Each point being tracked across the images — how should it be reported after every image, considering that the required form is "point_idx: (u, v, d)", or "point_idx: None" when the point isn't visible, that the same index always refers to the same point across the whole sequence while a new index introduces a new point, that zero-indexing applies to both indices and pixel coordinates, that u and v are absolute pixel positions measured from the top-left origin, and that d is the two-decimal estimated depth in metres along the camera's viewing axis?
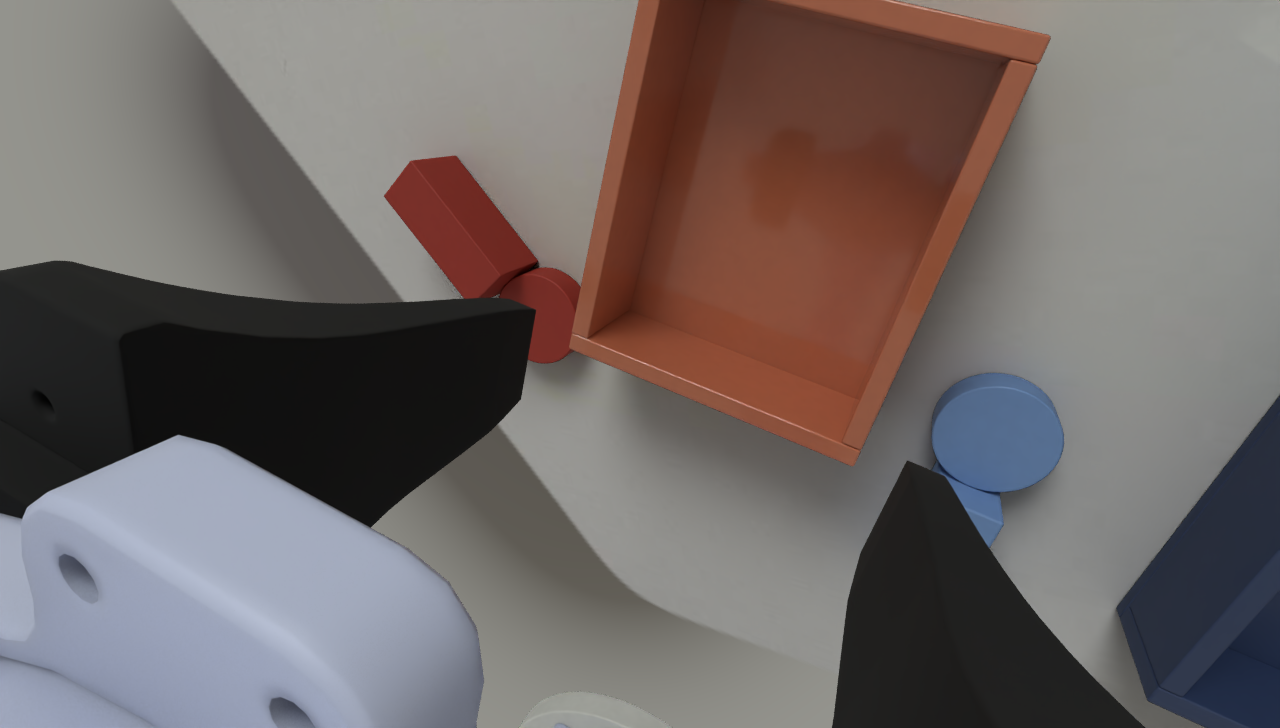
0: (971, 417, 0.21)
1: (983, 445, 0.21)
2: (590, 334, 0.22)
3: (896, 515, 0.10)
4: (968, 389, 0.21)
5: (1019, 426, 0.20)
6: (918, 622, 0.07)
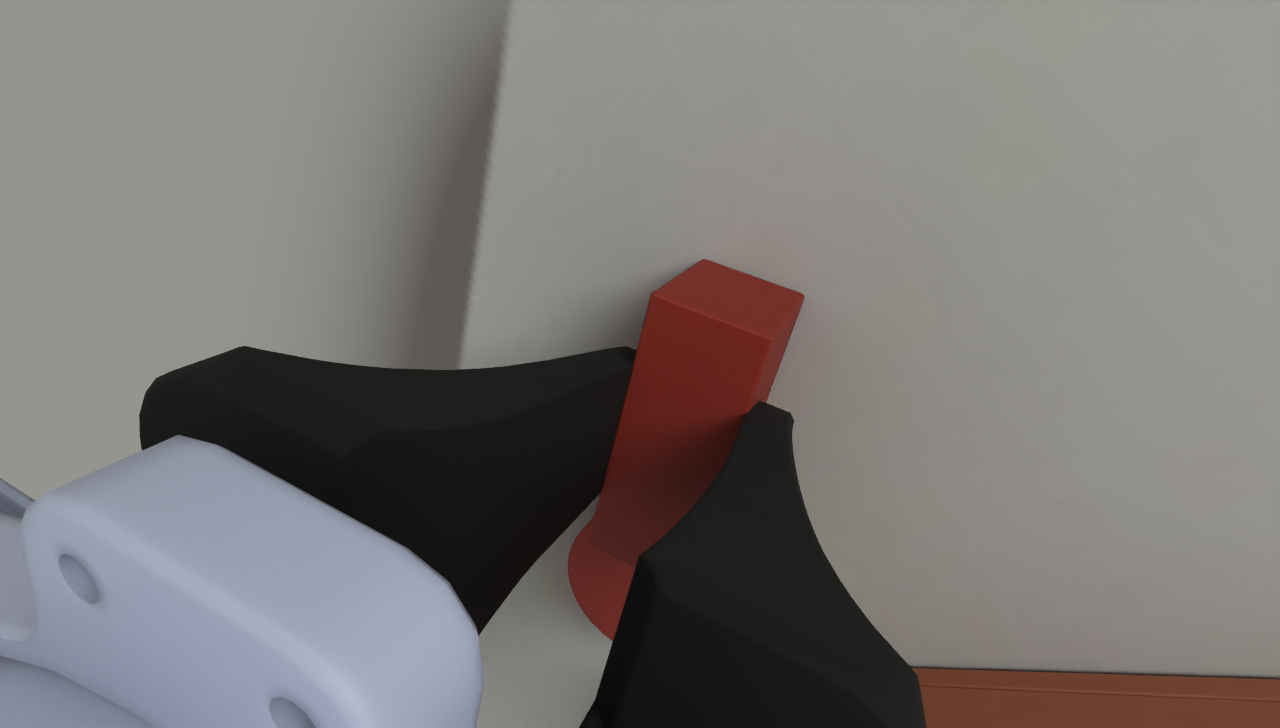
0: None
1: None
2: None
3: None
4: None
5: None
6: None
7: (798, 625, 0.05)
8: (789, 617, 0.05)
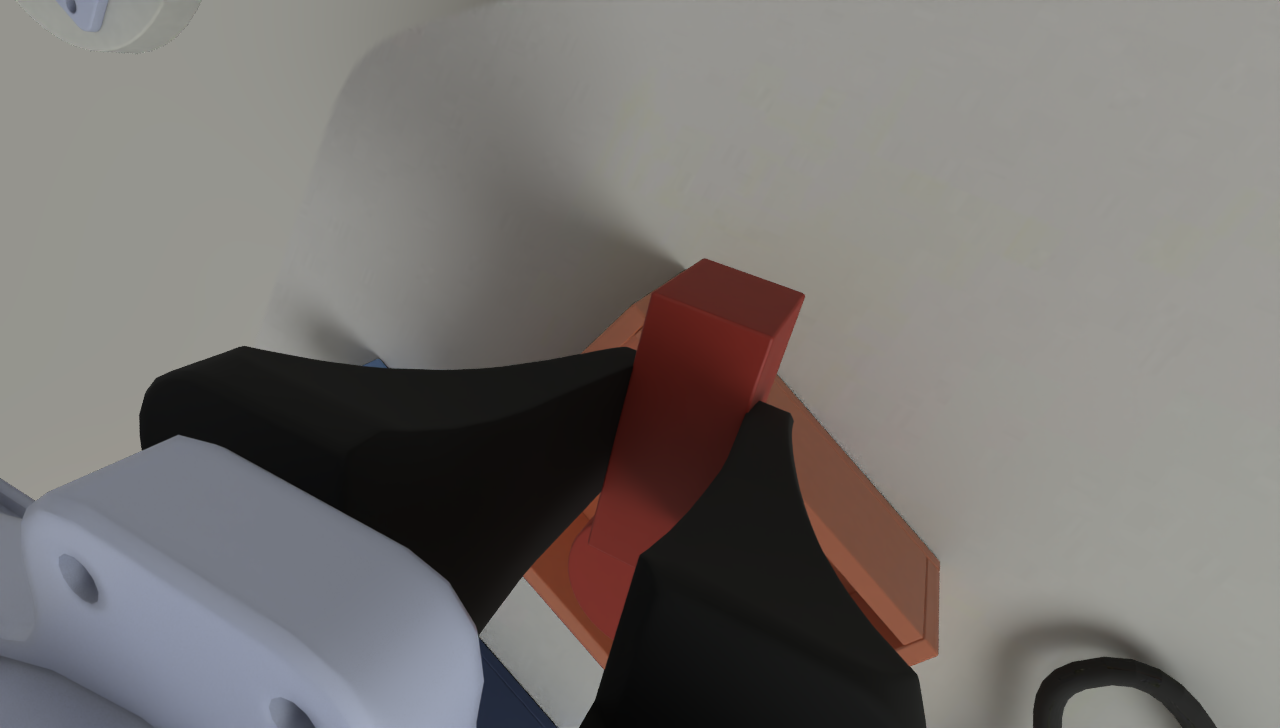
0: None
1: None
2: None
3: None
4: None
5: None
6: None
7: (798, 624, 0.05)
8: (790, 617, 0.05)
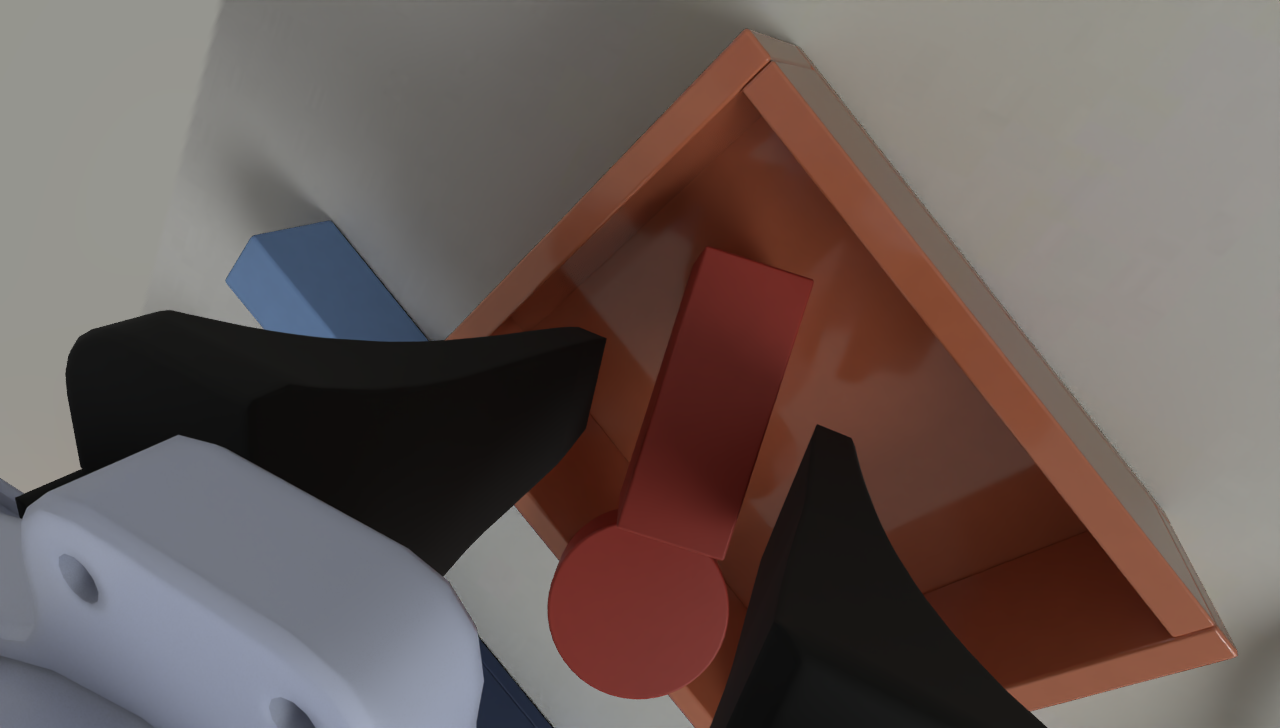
0: None
1: None
2: None
3: (798, 473, 0.10)
4: None
5: None
6: (783, 559, 0.07)
7: (944, 696, 0.05)
8: (933, 687, 0.05)
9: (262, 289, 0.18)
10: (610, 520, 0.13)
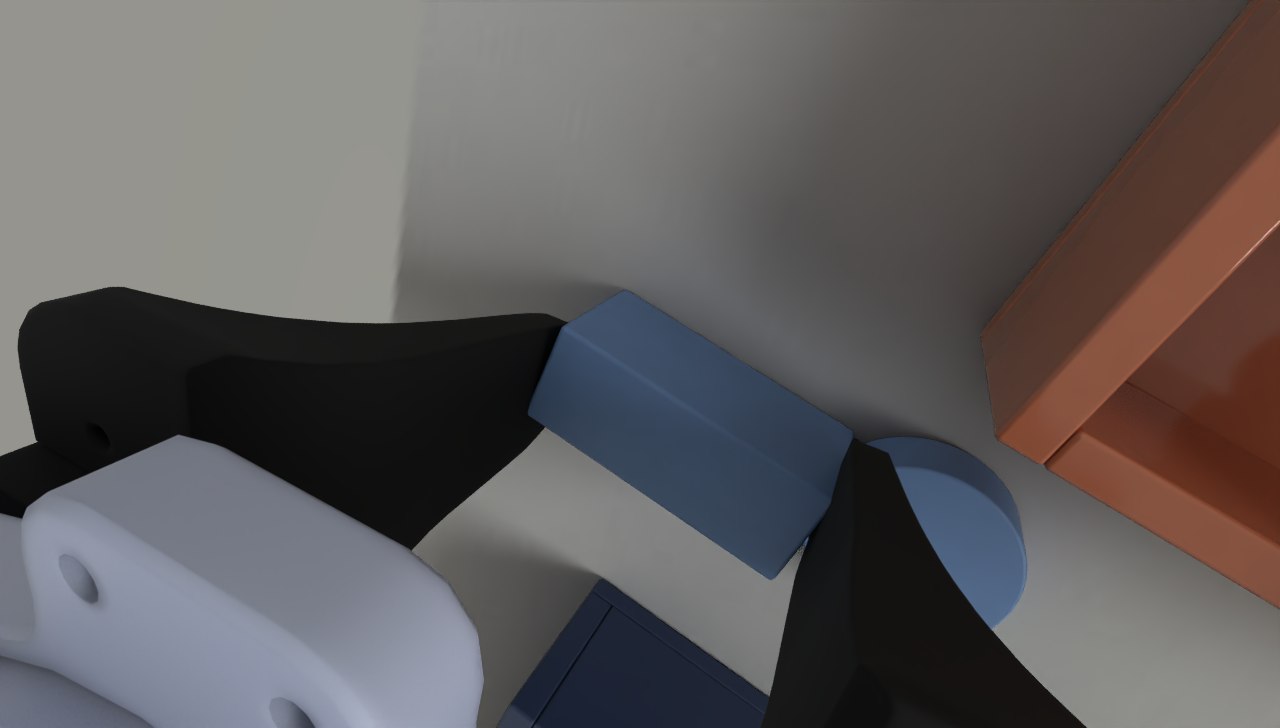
0: (966, 540, 0.11)
1: None
2: None
3: (837, 489, 0.10)
4: None
5: None
6: (836, 584, 0.07)
7: None
8: None
9: (591, 403, 0.11)
10: None
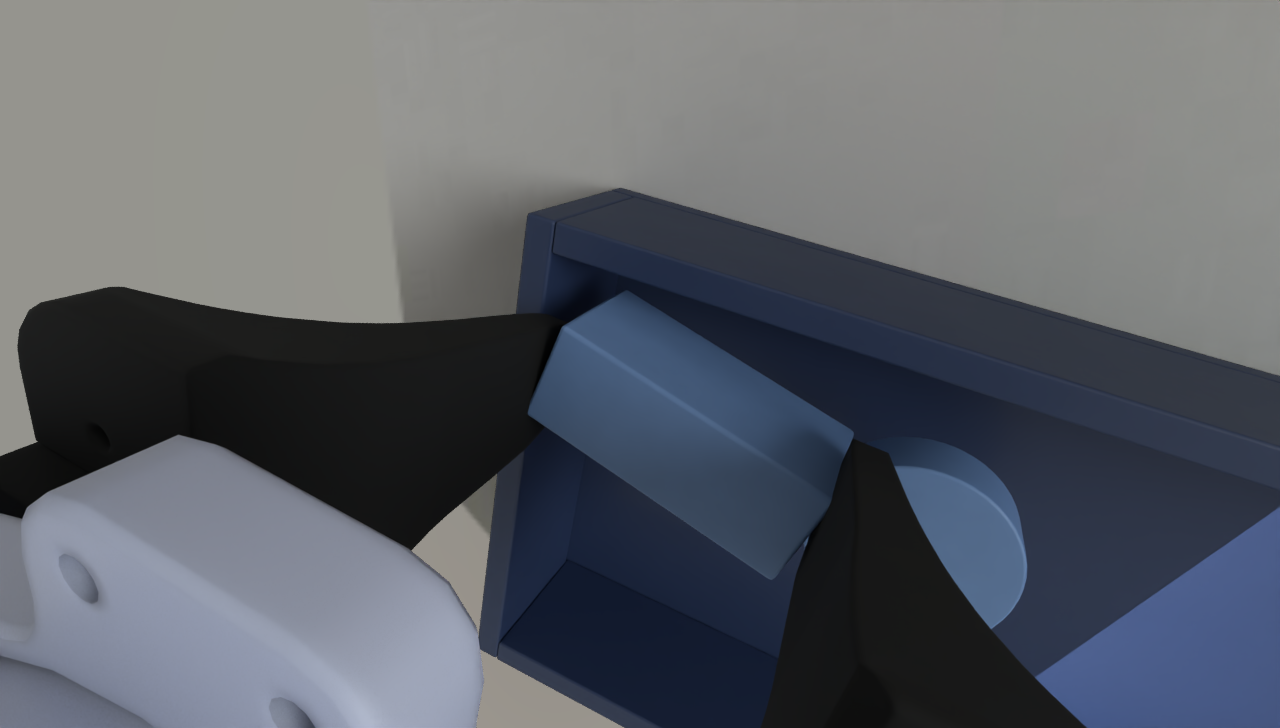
0: (966, 540, 0.11)
1: None
2: None
3: (837, 490, 0.10)
4: None
5: None
6: (836, 584, 0.07)
7: None
8: None
9: (591, 403, 0.11)
10: None
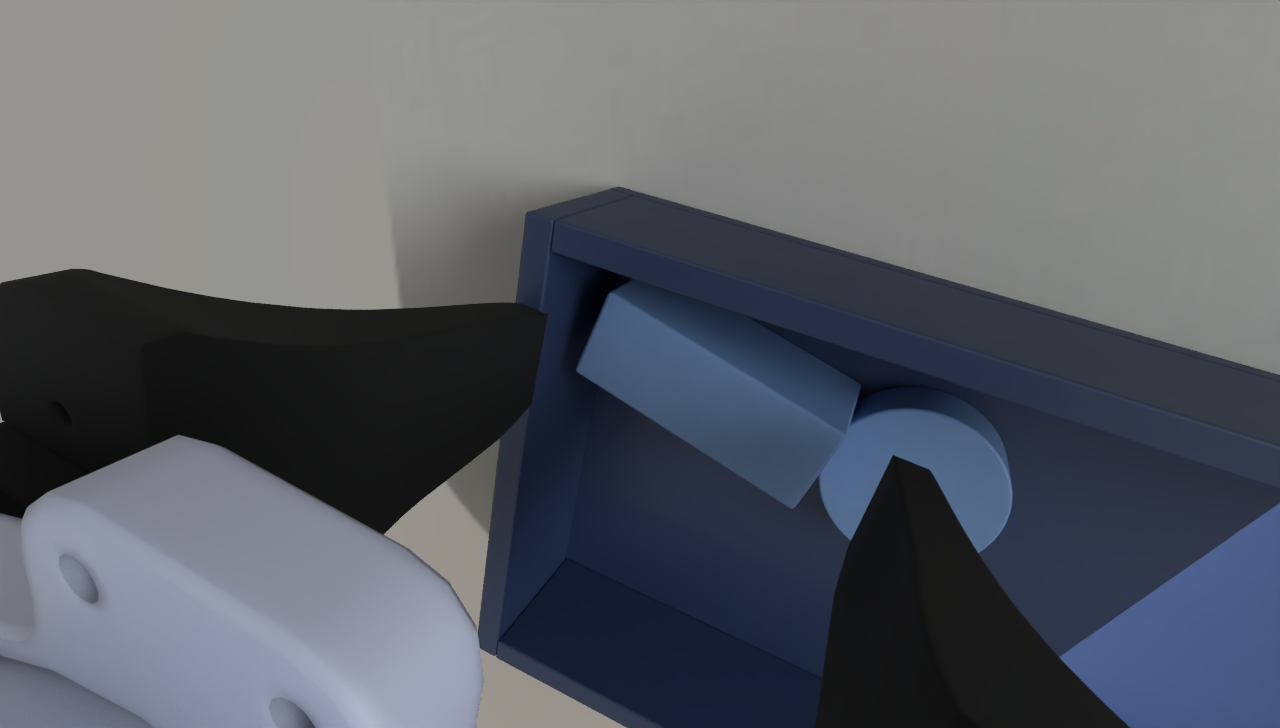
0: (959, 471, 0.13)
1: None
2: None
3: (881, 508, 0.10)
4: None
5: None
6: (897, 612, 0.07)
7: None
8: None
9: (634, 359, 0.13)
10: None
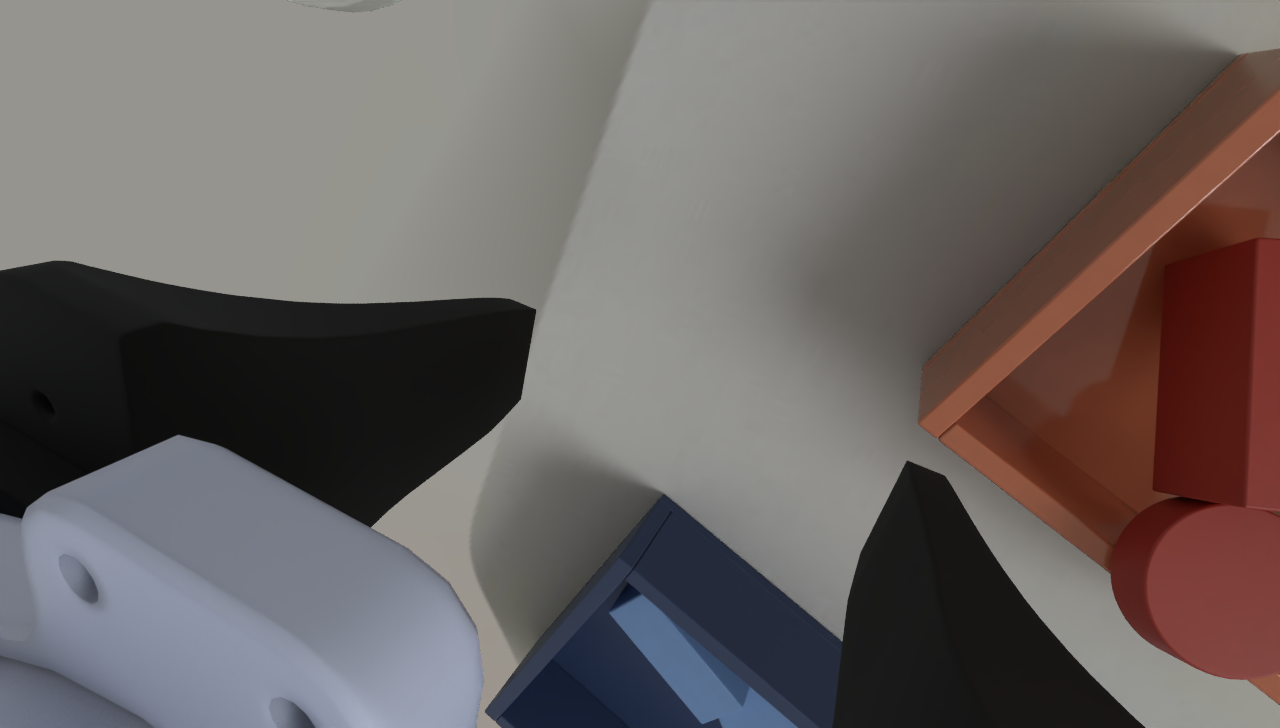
0: None
1: (764, 717, 0.24)
2: None
3: (896, 515, 0.10)
4: None
5: None
6: (918, 622, 0.07)
7: None
8: None
9: (645, 625, 0.23)
10: (1175, 511, 0.14)
